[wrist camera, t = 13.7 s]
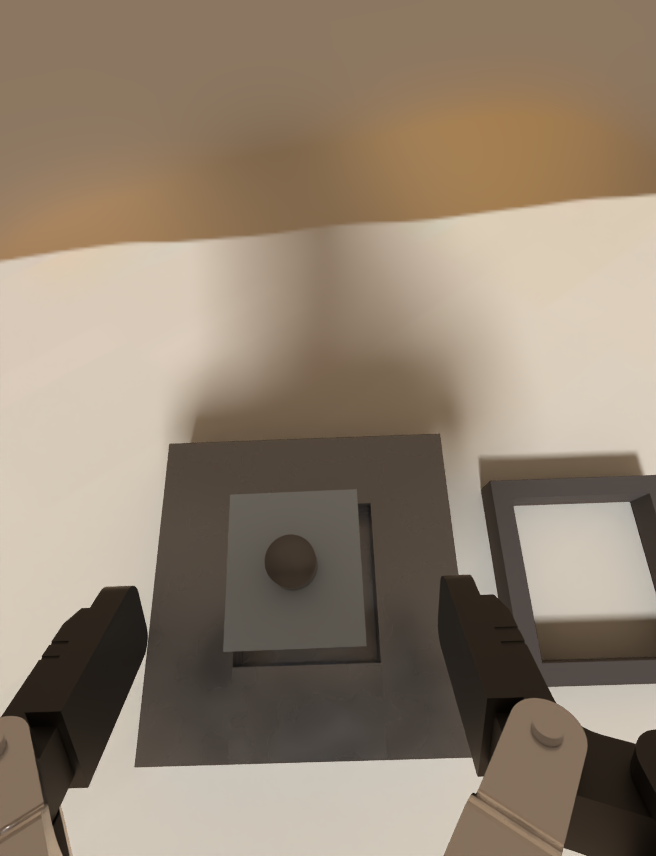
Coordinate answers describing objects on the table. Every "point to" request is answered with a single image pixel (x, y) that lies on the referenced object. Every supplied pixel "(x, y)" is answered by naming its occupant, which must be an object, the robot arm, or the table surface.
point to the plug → (294, 572)
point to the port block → (315, 667)
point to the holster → (652, 511)
